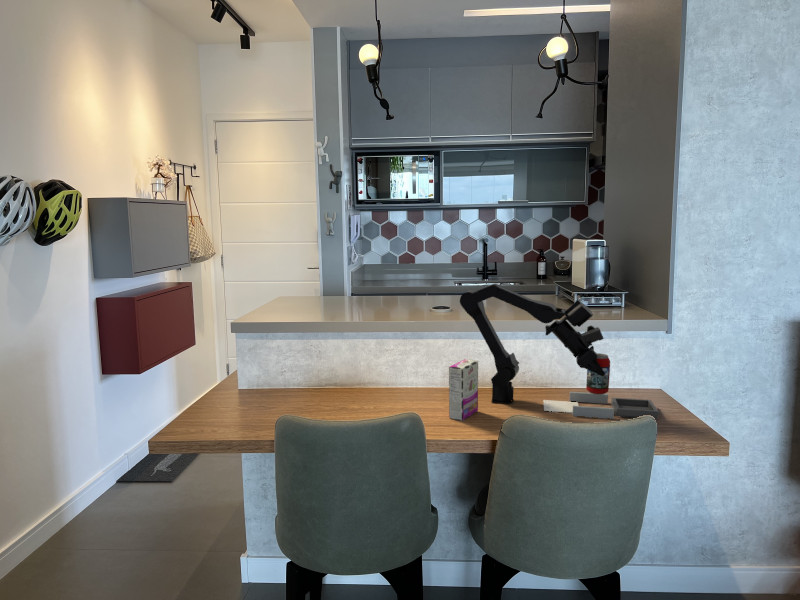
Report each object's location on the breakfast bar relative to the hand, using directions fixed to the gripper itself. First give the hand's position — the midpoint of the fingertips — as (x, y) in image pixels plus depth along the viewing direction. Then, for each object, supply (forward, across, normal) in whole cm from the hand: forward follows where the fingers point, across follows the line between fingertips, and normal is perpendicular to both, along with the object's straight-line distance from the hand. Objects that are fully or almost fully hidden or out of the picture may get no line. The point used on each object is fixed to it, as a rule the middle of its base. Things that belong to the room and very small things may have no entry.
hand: (602, 372), depth 191 cm
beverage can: (+4, 0, +6) cm, 7 cm away
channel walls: (+6, 0, +11) cm, 13 cm away
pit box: (+16, 0, +2) cm, 16 cm away
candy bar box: (-21, -14, +39) cm, 46 cm away
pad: (0, 0, +17) cm, 17 cm away
